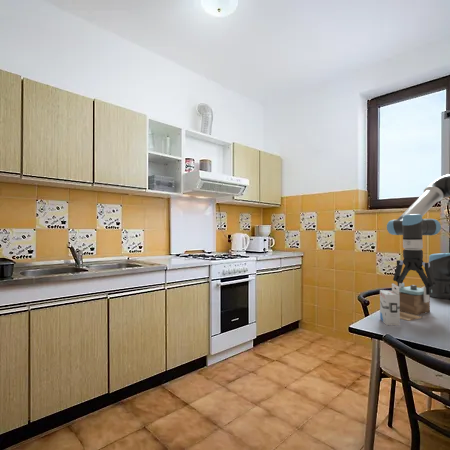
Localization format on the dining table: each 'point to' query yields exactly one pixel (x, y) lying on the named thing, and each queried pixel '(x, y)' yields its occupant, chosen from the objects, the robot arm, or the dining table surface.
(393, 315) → the ink box
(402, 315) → the trivet
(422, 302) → the box
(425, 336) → the dining table surface
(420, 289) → the lid
